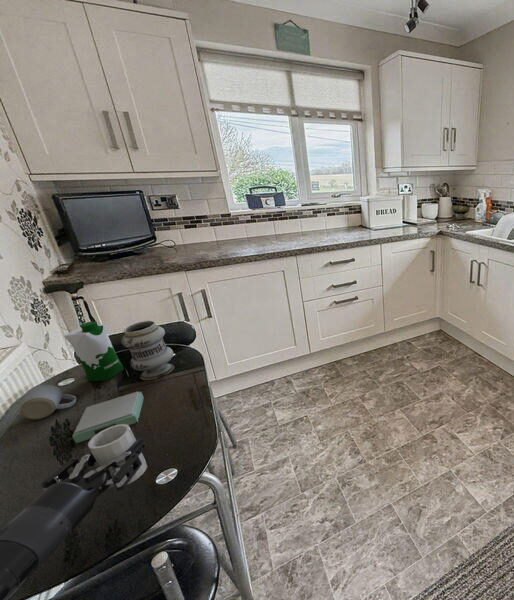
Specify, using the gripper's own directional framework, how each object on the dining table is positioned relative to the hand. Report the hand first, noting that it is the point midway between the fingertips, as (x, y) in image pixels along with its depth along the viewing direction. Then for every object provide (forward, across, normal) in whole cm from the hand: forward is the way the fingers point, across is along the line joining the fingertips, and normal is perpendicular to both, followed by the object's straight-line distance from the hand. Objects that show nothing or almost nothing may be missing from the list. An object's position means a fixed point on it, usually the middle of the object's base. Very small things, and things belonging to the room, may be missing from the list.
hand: (126, 442), depth 66 cm
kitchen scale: (+23, +26, +12) cm, 37 cm away
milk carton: (+47, +48, +12) cm, 68 cm away
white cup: (-2, 0, +6) cm, 6 cm away
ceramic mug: (+29, +49, +12) cm, 58 cm away
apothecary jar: (+46, +29, +12) cm, 56 cm away
